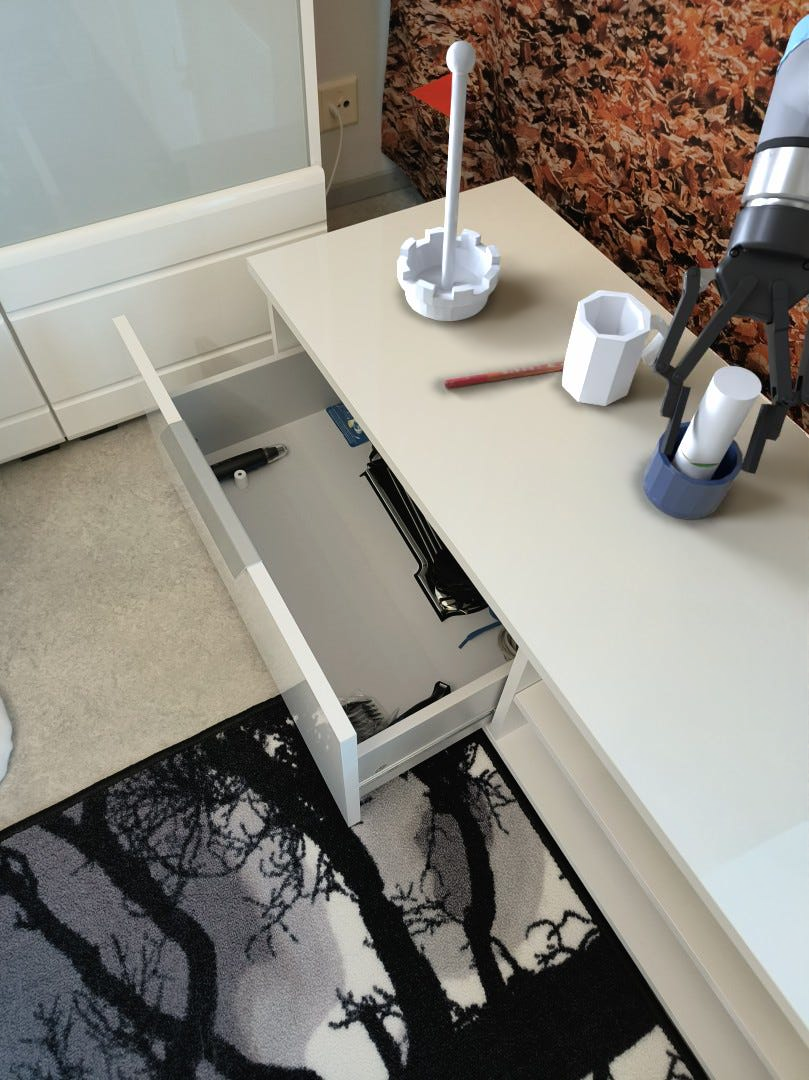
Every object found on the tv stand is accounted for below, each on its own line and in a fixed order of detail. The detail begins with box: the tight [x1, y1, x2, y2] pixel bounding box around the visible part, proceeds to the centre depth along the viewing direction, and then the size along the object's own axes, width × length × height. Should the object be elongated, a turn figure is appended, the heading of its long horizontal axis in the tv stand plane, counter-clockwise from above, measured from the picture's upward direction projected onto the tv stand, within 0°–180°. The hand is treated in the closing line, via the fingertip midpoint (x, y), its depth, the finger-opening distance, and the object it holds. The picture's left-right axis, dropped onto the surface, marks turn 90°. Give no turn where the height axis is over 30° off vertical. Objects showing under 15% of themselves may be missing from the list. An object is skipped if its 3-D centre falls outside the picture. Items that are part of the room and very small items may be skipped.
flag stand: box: [396, 40, 501, 322], centre depth 85 cm, size 13×13×30 cm
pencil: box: [444, 360, 565, 389], centre depth 89 cm, size 19×1×1 cm, turn 102°
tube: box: [671, 365, 762, 481], centre depth 74 cm, size 4×4×15 cm
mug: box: [561, 289, 669, 407], centre depth 85 cm, size 12×9×10 cm
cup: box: [642, 421, 744, 520], centre depth 78 cm, size 8×8×6 cm
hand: (706, 462), depth 72 cm, fingers open, 7 cm apart
